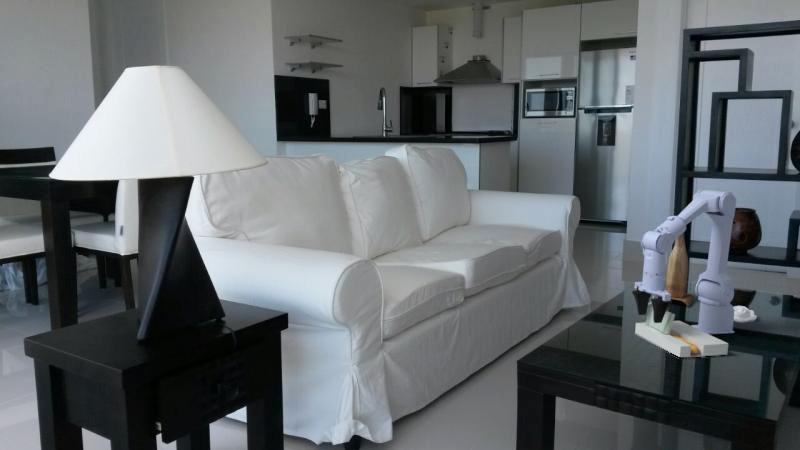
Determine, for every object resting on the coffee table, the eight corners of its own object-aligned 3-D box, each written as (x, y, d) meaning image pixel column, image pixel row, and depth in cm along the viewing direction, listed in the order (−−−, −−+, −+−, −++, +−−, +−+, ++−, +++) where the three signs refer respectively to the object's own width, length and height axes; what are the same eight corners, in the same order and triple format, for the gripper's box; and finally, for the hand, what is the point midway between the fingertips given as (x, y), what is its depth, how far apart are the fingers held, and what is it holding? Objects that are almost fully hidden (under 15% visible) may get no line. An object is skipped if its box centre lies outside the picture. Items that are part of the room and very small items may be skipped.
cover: (654, 304, 192) (651, 304, 191) (675, 314, 182) (672, 313, 182) (648, 323, 192) (645, 323, 192) (669, 334, 183) (666, 333, 182)
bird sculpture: (694, 300, 233) (702, 214, 228) (689, 308, 223) (698, 217, 218) (661, 296, 239) (669, 211, 234) (655, 303, 229) (663, 214, 224)
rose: (762, 306, 211) (752, 312, 205) (760, 319, 212) (751, 325, 205) (730, 300, 218) (719, 305, 212) (728, 313, 219) (718, 318, 212)
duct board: (678, 331, 197) (679, 320, 196) (727, 355, 177) (728, 343, 176) (634, 334, 194) (635, 323, 193) (679, 358, 173) (680, 346, 173)
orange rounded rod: (664, 334, 186) (666, 342, 186) (691, 348, 174) (693, 356, 175) (671, 331, 186) (673, 339, 187) (699, 345, 175) (701, 353, 175)
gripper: (627, 267, 190) (623, 311, 192) (656, 279, 176) (652, 326, 178) (648, 267, 192) (644, 310, 194) (679, 278, 178) (674, 325, 180)
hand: (649, 318), depth 186 cm, fingers open, 7 cm apart
